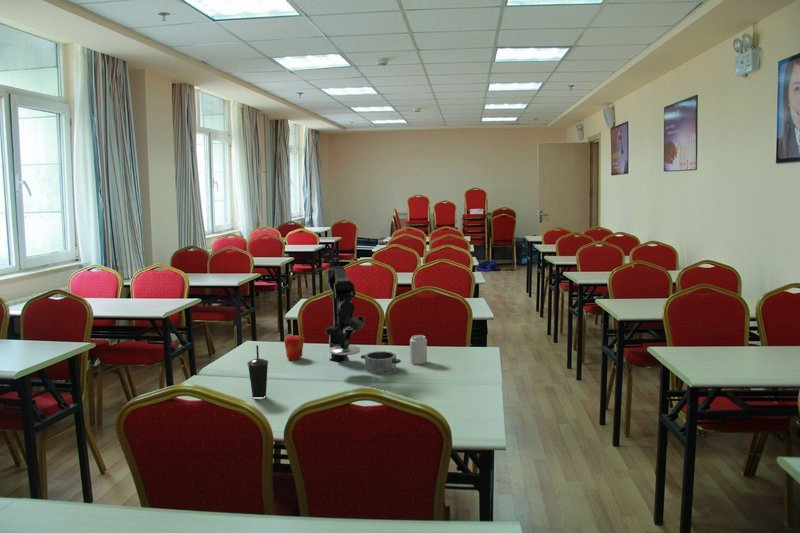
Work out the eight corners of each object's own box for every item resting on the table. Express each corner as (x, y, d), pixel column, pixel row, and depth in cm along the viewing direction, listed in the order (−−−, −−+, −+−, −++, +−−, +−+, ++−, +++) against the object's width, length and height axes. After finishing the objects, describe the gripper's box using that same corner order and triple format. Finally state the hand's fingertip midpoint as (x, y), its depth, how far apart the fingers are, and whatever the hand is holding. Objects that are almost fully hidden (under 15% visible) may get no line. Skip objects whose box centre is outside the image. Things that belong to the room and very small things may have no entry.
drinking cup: (250, 394, 241) (248, 343, 238) (270, 394, 242) (269, 342, 239) (247, 401, 234) (245, 348, 231) (268, 400, 234) (266, 347, 232)
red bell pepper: (294, 362, 284) (293, 336, 282) (280, 359, 288) (280, 334, 287) (307, 357, 291) (307, 332, 289) (294, 355, 295) (293, 330, 294)
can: (425, 365, 277) (425, 338, 276) (408, 364, 279) (408, 338, 277) (428, 360, 284) (428, 334, 283) (411, 360, 286) (411, 333, 284)
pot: (354, 370, 271) (354, 356, 270) (370, 362, 282) (370, 349, 282) (391, 376, 262) (391, 362, 262) (406, 367, 274) (406, 354, 273)
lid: (323, 352, 262) (323, 339, 262) (340, 345, 273) (340, 333, 273) (349, 356, 256) (349, 343, 256) (365, 349, 267) (365, 336, 266)
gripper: (348, 316, 250) (348, 355, 253) (372, 308, 267) (373, 344, 269) (324, 314, 256) (325, 351, 258) (350, 305, 272) (351, 341, 274)
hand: (344, 347), depth 265 cm, fingers closed on lid, 3 cm apart
